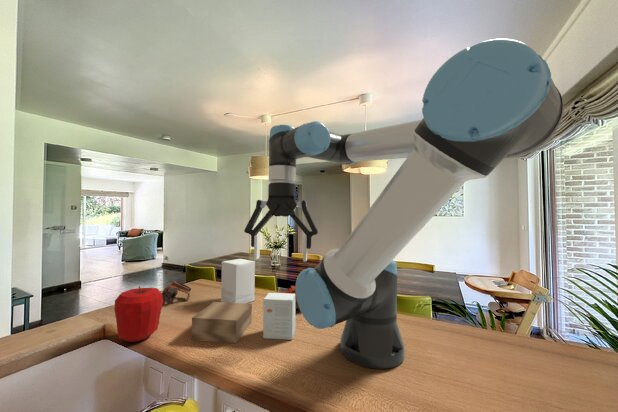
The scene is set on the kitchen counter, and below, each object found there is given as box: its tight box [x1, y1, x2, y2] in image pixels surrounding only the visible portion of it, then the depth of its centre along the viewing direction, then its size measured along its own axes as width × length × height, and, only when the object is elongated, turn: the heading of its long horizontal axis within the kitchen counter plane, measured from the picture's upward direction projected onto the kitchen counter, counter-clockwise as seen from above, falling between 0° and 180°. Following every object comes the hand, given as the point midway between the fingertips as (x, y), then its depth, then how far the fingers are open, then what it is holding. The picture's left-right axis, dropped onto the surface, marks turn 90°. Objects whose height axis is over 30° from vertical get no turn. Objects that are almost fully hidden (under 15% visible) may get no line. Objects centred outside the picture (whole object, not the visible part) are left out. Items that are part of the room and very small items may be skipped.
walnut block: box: [191, 301, 253, 344], centre depth 72 cm, size 12×12×6 cm
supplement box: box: [220, 258, 256, 304], centre depth 95 cm, size 9×9×15 cm
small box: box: [262, 292, 296, 341], centre depth 70 cm, size 8×6×10 cm
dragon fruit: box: [282, 285, 300, 311], centre depth 89 cm, size 8×8×12 cm
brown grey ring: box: [161, 280, 192, 306], centre depth 93 cm, size 12×10×8 cm
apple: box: [114, 285, 163, 343], centre depth 67 cm, size 10×10×14 cm
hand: (280, 259), depth 70 cm, fingers open, 13 cm apart
